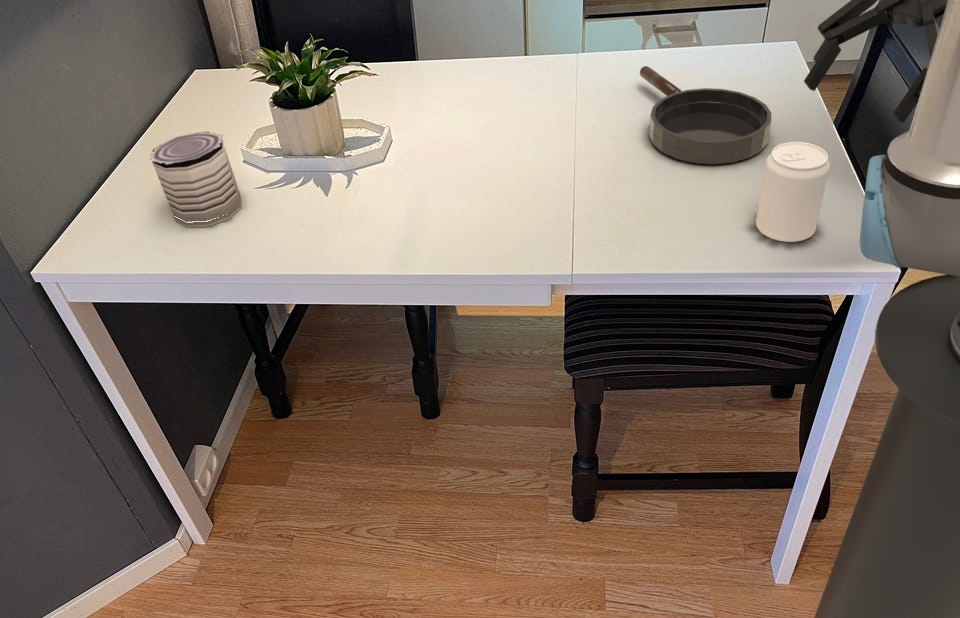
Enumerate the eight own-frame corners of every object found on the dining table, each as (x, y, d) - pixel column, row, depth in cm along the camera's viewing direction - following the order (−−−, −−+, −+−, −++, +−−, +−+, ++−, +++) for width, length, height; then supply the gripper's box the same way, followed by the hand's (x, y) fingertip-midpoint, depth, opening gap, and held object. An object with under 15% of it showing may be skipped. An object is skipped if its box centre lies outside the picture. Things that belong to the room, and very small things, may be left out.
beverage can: (822, 243, 110) (840, 167, 102) (763, 247, 110) (777, 172, 102) (804, 211, 116) (820, 137, 108) (749, 214, 116) (760, 142, 109)
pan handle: (684, 101, 141) (685, 89, 139) (673, 104, 140) (674, 92, 139) (647, 74, 150) (648, 63, 149) (637, 76, 150) (637, 65, 148)
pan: (791, 149, 130) (796, 124, 127) (687, 178, 126) (690, 152, 123) (724, 102, 144) (727, 79, 141) (629, 127, 140) (630, 104, 137)
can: (172, 234, 125) (145, 168, 118) (175, 199, 134) (150, 135, 126) (244, 219, 127) (222, 153, 119) (242, 185, 136) (222, 121, 128)
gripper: (1051, -6, 98) (946, 144, 101) (869, -45, 114) (784, 85, 118) (1045, -40, 92) (934, 120, 96) (854, -76, 108) (766, 62, 112)
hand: (851, 101), depth 107 cm, fingers open, 13 cm apart
